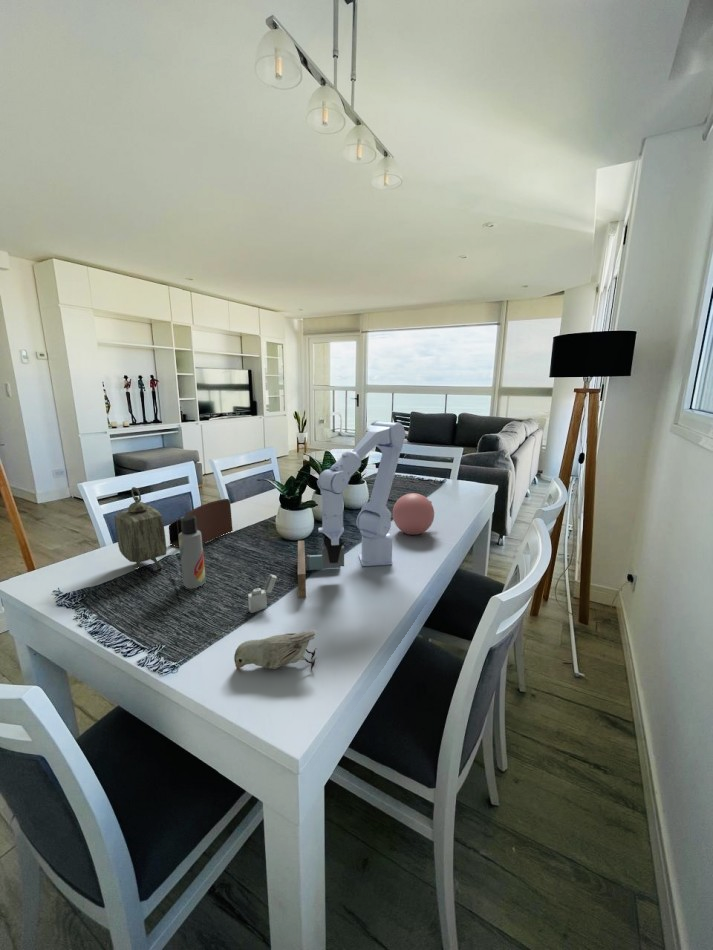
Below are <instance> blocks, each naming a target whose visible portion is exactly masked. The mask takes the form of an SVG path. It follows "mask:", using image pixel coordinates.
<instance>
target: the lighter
mask: <svg viewBox="0 0 713 950" xmlns="http://www.w3.org/2000/svg"><path fill="white" fill-rule="evenodd" d="M277 580H278V577H277V576H276V575H275V574H270V573H269V576H268V578H267V581H266V583H265V585H264V588H263V589H261V588H260V587H257V588H254V589H253V590H252V591H251V593H248V594H247V599H248V600H247V601H248V611H249V612H250V613H251V614H252V613H255V612H256V613H257V612H259V611H261V610H265V609H267V608H268V605H267V604H268V603H267V602H268V600H267V593H270V594H271V593H272V592H273V589H274V587H275V584H276V582H277Z"/></svg>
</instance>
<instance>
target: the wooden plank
mask: <svg viewBox="0 0 713 950" xmlns="http://www.w3.org/2000/svg"><path fill="white" fill-rule="evenodd" d="M305 548H306V547H305V540H298V541H297V591H298V593H297V595H298V597H297V598H298V599H300V598H302V599H303V598H307V588H306V586H307V582H306V552H305Z"/></svg>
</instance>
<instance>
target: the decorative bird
mask: <svg viewBox="0 0 713 950" xmlns="http://www.w3.org/2000/svg"><path fill="white" fill-rule="evenodd" d="M315 635H316V631H315V630H308V631H301V632H298V633H285V634H276V635H272V636H269V637H266V638H262V639H250V640H245V641H244V642H242V643H241V644H239V645H238V646H237V648H236V649H235V653H234V657H233V660H234V664H235V667H236V669H237V670H239V669H241V668H243V667H245V666H247V665H251V664H253V665H255V666H258V667H262V668H266V669H269V670H276V669H279V668H281V667H284V666H288V665H290V664H294V663H297V662H298V661H301V660H302V661H305V662H306V663H308V664H310V670H311V672H313V670H312V669H313V668H314V666H315V664H316V659H317V658H318V657H317V656H316V657H315V654H316V650H317V649H318V648H317V647H315V649H314V650H313V652H312V651H309V650H308V649H307V648H308V646H309V644H310V641H312V640H314V639H315ZM305 652H306V653H308V654H310V655H311V657H310V658H311V661H309V660H308V659H307V658H306V657H304V655H305ZM314 657H315V658H314ZM313 658H314V659H313Z"/></svg>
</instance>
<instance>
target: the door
mask: <svg viewBox="0 0 713 950" xmlns="http://www.w3.org/2000/svg"><path fill="white" fill-rule="evenodd" d="M340 568H342V566H340V567H324V568H323V566H322V554H312V555H310V554H307V555H306V554H305V571H312V570H329V569H340Z"/></svg>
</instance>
